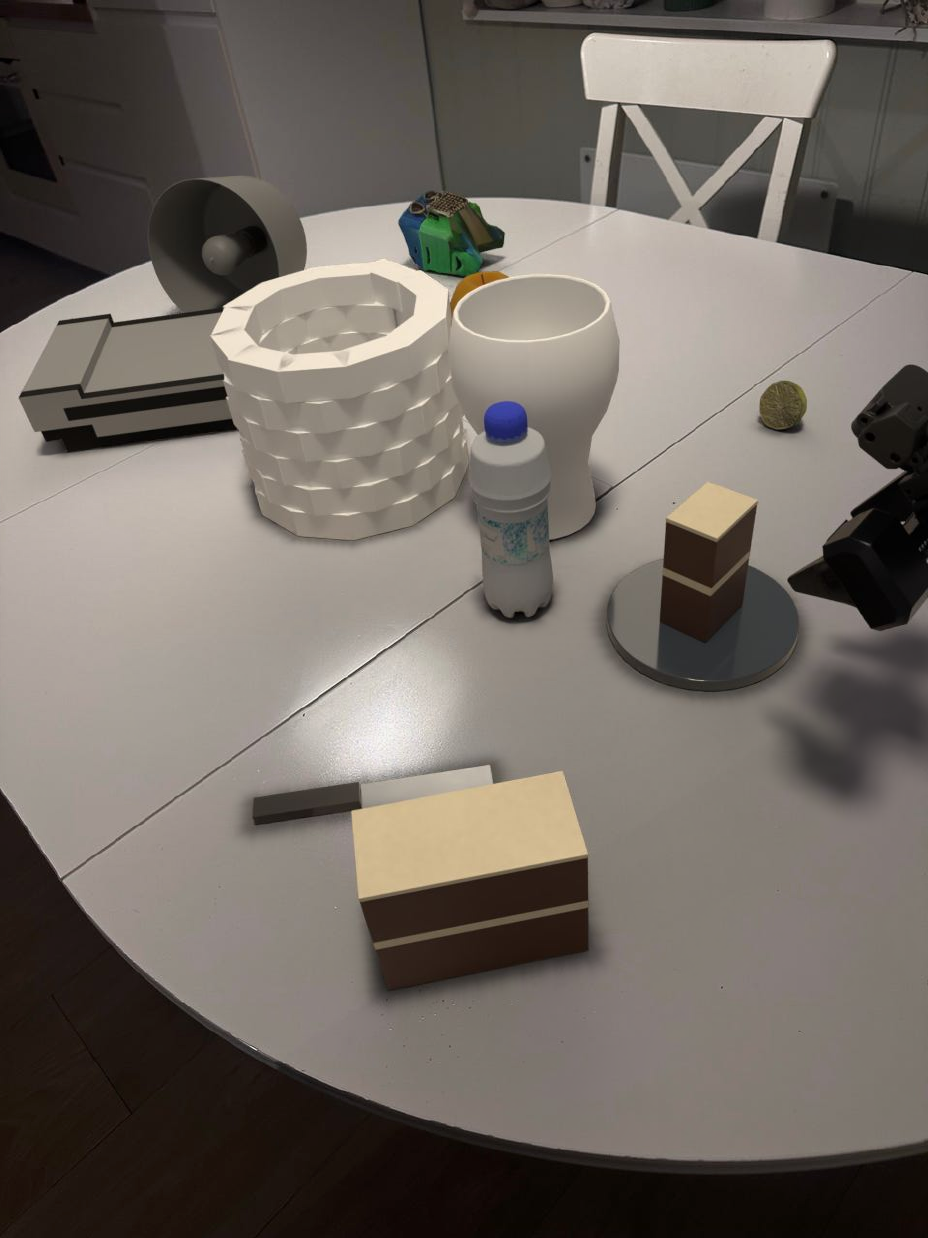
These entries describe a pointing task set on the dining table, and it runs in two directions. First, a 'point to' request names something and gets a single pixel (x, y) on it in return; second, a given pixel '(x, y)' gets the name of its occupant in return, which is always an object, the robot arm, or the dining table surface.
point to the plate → (677, 659)
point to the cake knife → (365, 794)
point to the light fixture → (222, 239)
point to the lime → (782, 405)
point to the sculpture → (448, 233)
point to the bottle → (512, 510)
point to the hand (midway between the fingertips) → (823, 549)
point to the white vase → (541, 373)
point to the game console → (128, 381)
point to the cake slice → (706, 560)
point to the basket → (344, 397)
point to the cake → (472, 879)
